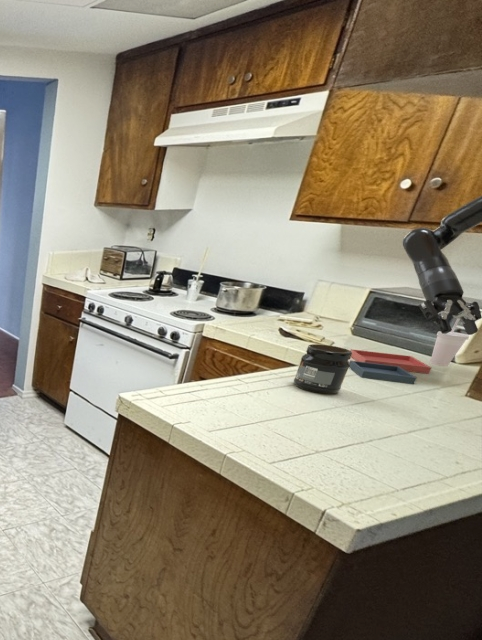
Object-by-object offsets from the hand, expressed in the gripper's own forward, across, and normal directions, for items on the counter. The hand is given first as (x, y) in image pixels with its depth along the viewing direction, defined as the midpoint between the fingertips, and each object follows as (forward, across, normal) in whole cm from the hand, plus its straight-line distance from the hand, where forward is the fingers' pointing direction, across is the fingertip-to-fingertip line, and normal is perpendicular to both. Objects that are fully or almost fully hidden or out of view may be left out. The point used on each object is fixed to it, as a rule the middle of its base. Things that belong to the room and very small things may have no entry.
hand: (460, 332), depth 136 cm
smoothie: (+6, 0, +9) cm, 11 cm away
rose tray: (-2, +1, +25) cm, 25 cm away
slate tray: (+7, -12, +15) cm, 20 cm away
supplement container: (+19, -41, +3) cm, 45 cm away
